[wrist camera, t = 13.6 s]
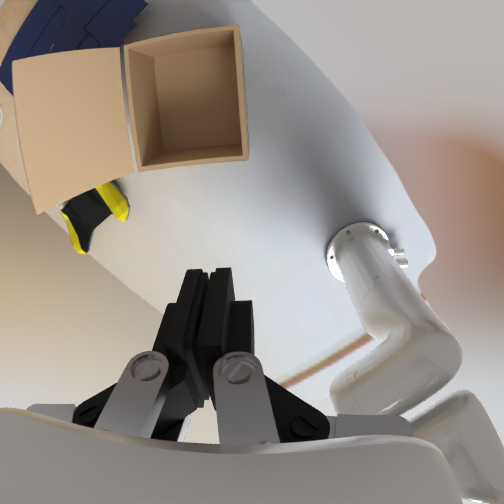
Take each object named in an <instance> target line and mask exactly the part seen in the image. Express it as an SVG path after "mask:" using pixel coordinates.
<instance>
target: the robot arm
mask: <svg viewBox="0 0 504 504" xmlns="http://www.w3.org/2000/svg"><path fill="white" fill-rule="evenodd" d="M396 255H397V256H401V255H404V249H403V248H397V249H393V248H391V247H390V242H389V239H388V237H387V235H386V234H385V232H384V231H383V230H382V229H381V228H380V227H378V226H377V225H375V224H372V223H368V222H358V223H354V224H351V225H348V226H346V227H345V228H343V229H342V230H340V231H339V232H338V233H337V234H336V235H335V236H334V238H333V239H332V240H331V242H330V244H329V246H328V249H327V255H326V258H327V264H328V267H329V269H330V271H331V273H332V274H333V276H335V277H336V278H337V279H338V280H340V281H342V282H344V283H345V285H346V288H347V290H348V292H349V295H350V297H351V299H352V302H353V304H354V307H355V309H356V311H357V314H358V316H359V319H360V321H361V323H362V325H363V327H364V329H365V330H366V332H367V333H368V334H370V335H371V336H372V337H373V338H375V339H377V340H379V341H382V343H381V344H380V345H379V346H377V347H376V348H375V349H374V350H373V351H371V352H370V353H368V354H367V355H366V356H364V357H363V358H361V359H360V360H358V361H357V362H355V363H354V364H352V365H351V366H350V367H348V368H347V369H345V370H344V371H342V372H341V373H340V374H339V375H338V376H337V377H336V378H335V379H334V380H333V382H332V384H331V387H330V398H331V401H332V405H333V407H334V409H335V412H336V414H337V416H336V417H335V416H325V415H324V414H323V413H321V412H320V411H319V410H317V409H315V408H314V407H312V406H311V405H309V404H308V403H306V402H304V401H303V400H301V399H300V398H298V397H297V396H295V395H294V394H292V393H291V392H289V391H287V390H286V389H284V388H283V387H281V386H280V385H279V384H277V383H276V382H274V381H273V380H271V379H270V378H268V377H267V376H265V375H264V373H263V369H262V365H261V363H260V361H259V359H258V358H257V357H255V356H254V319H253V306H252V300H249V301H235V295H234V287H233V279H232V271H231V267H230V268H216V271H215V272H211V274H210V279H209V277H208V273H207V272H205V273H203V271H202V269H190V270H187V271H186V274H185V277H184V280H183V283H182V286H181V290H180V293H179V296H178V299H177V302H176V303H169V304H168V305H167V307H166V310H165V313H164V316H163V319H162V322H161V325H160V328H159V331H158V334H157V337H156V340H155V343H154V346H153V349H152V351H146V352H142V353H140V354H138V355H136V356H134V357H133V358H132V359H131V360H130V361H129V363H128V364H127V366H126V368H125V369H124V371H123V373H122V375H121V377H120V379H119V381H118V382H117V383H115V384H114V385H112V386H110V387H109V388H107V389H105V390H103V391H102V392H100V393H98V394H96V395H95V396H93V397H91V398H89V399H88V400H86V401H84V402H83V403H81V404H80V405H79V406H78V407H76V405H75V404H33V405H32V406H30V407H28V408H27V410H22V409H17V408H0V504H463V503H462V499H461V498H463V499H466V500H469V501H473V502H483V503H490V504H504V447H503V445H502V443H501V441H500V438H499V436H498V434H497V432H496V430H495V428H494V426H493V424H492V422H491V420H490V418H489V416H488V414H487V413H486V411H485V409H484V407H483V406H482V404H481V402H480V401H479V399H478V398H477V397H476V395H475V394H474V393H472V392H471V391H469V390H467V389H460V390H457V391H455V392H452V393H451V394H449V395H447V396H445V397H444V398H442V399H441V400H439V401H438V402H436V403H434V404H433V405H431V406H430V407H429V408H427V409H425V410H424V411H422V412H420V413H419V414H417V415H416V416H414V417H412V418H411V419H409V420H406V419H405V418H403V417H401V416H400V415H402V414H404V413H405V412H407V411H409V410H410V409H412V408H414V407H416V406H417V405H419V404H420V403H422V402H423V401H425V400H426V399H428V398H429V397H431V396H432V395H434V394H435V393H437V392H438V391H440V390H441V389H442V388H443V387H445V386H446V385H447V384H448V383H449V382H450V381H451V380H452V379H453V378H454V376H455V375H456V374H457V372H458V370H459V369H460V367H461V364H462V359H463V352H462V348H461V345H460V343H459V341H458V339H457V338H456V336H455V335H454V333H453V332H452V331H451V330H450V329H449V328H448V326H447V325H446V324H445V323H444V322H443V321H442V320H441V319H440V318H439V317H438V316H437V315H436V314H435V313H434V311H433V310H432V309H431V308H430V307H429V306H428V304H427V303H426V302H425V300H424V299H423V298H422V296H421V295H420V294H419V292H418V291H417V289H416V288H415V286H414V285H413V284H412V282H411V281H410V279H409V278H408V277H407V275H406V274H405V272H404V271H403V270H402V268H406V267H407V265H408V261H407V259H406V258H398V259H394V258H393V256H396ZM209 396H210V397H211V400H212V403H213V406H214V409H215V411H216V412H217V422H218V432H219V441H220V444H201V443H187V442H186V443H185V442H184V439H185V435H186V433H187V429H188V427H189V423H190V420H191V413H192V412H194V411H195V410H197V408H203V406H204V400H209Z"/></svg>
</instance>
